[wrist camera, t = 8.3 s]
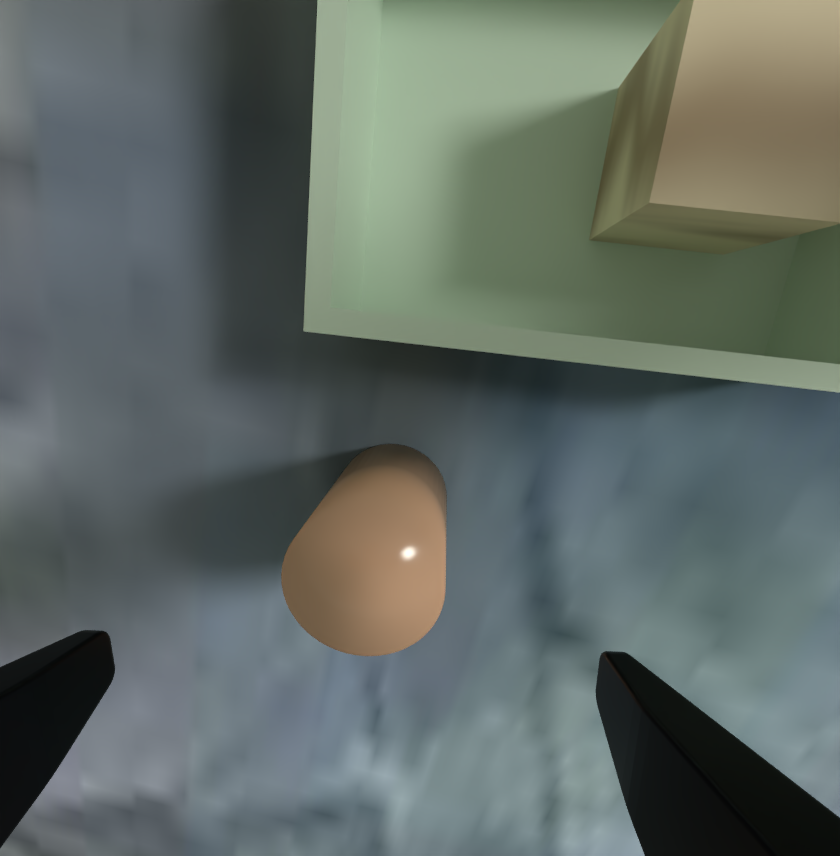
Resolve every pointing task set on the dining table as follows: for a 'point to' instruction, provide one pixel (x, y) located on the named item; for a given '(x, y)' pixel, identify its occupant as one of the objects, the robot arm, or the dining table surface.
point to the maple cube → (727, 129)
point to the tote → (526, 202)
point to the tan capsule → (372, 555)
